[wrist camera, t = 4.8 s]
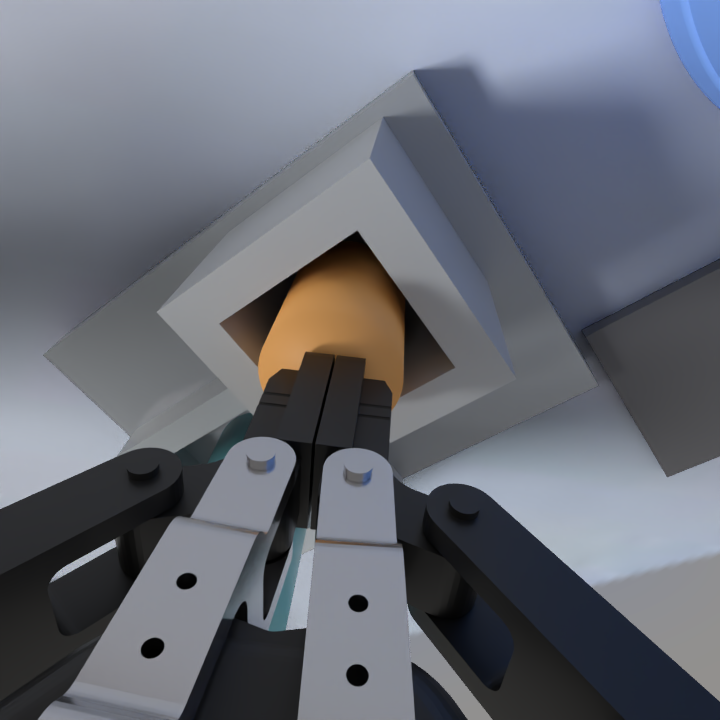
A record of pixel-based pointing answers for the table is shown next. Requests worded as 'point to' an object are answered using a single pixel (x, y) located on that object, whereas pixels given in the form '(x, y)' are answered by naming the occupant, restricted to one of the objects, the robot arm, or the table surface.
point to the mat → (669, 367)
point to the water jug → (697, 40)
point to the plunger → (341, 317)
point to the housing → (301, 246)
